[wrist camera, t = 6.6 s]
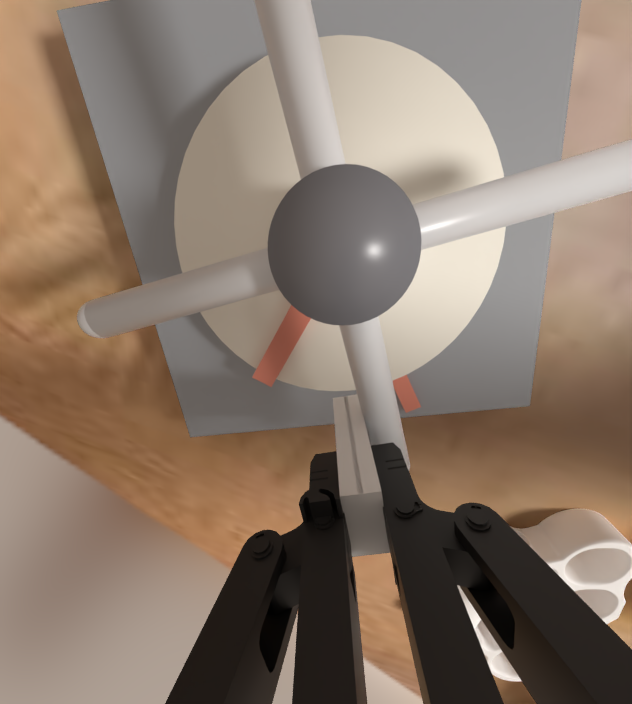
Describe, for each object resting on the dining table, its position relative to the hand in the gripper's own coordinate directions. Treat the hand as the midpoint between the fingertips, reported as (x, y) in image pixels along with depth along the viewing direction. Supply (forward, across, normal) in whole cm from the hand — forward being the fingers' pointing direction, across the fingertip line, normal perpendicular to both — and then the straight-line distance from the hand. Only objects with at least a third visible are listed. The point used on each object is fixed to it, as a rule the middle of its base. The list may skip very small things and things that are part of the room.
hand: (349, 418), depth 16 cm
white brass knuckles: (+6, +12, -22) cm, 26 cm away
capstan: (+3, +1, +8) cm, 9 cm away
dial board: (+5, +1, +9) cm, 10 cm away
